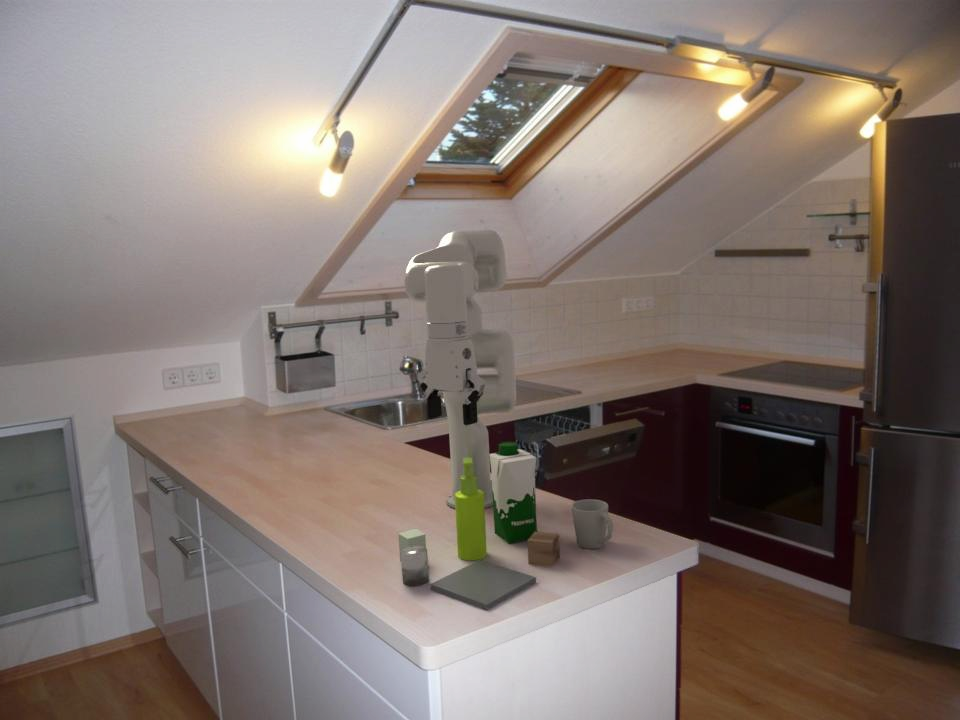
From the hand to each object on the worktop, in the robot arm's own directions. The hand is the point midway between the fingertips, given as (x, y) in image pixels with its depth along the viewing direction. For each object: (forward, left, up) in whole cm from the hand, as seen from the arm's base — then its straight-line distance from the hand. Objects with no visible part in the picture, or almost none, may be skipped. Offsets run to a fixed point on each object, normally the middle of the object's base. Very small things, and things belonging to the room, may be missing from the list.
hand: (452, 420), depth 152 cm
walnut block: (-14, +10, -30) cm, 35 cm away
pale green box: (+2, -11, -30) cm, 32 cm away
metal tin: (+8, -4, -30) cm, 32 cm away
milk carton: (-21, -3, -30) cm, 37 cm away
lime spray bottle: (-8, -4, -30) cm, 32 cm away
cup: (-26, +14, -30) cm, 42 cm away
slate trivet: (+2, +8, -30) cm, 31 cm away
